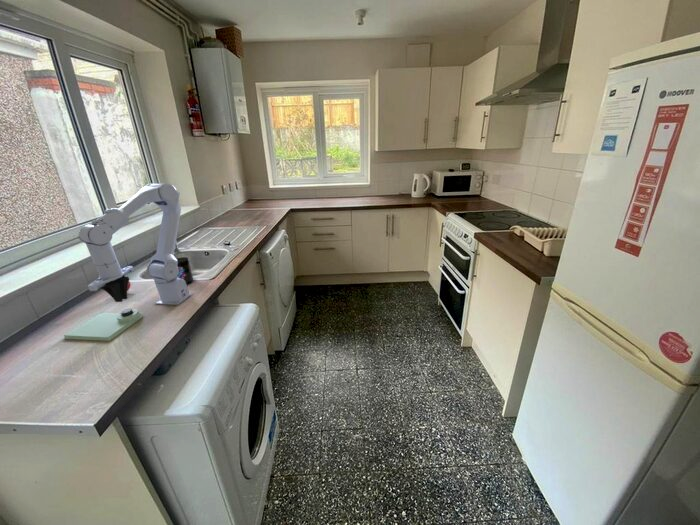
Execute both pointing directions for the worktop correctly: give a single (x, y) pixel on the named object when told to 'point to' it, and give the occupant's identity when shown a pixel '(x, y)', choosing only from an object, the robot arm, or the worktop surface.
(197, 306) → the worktop surface
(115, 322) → the scale
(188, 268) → the supplement container
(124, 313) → the tare button
